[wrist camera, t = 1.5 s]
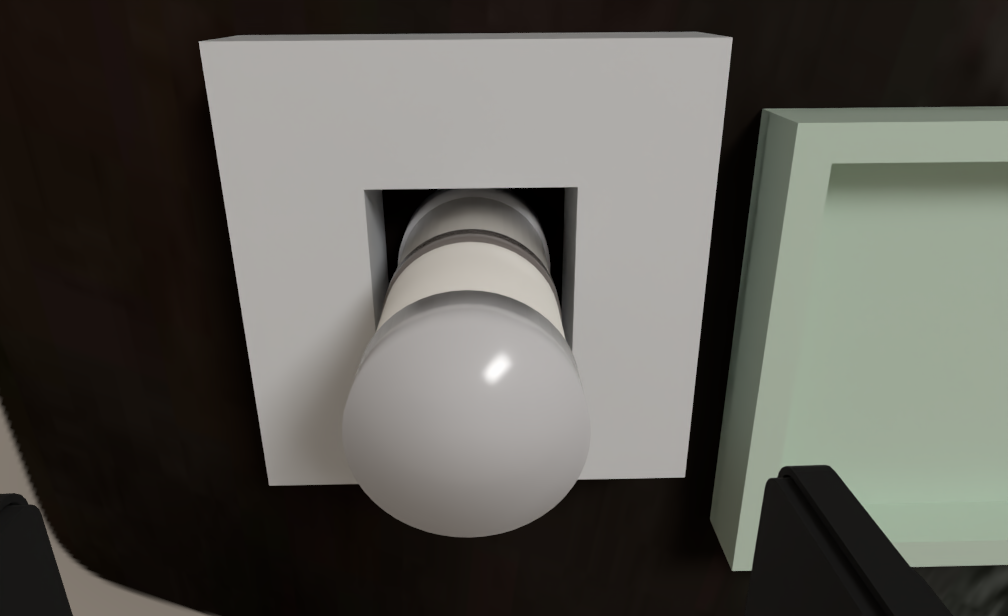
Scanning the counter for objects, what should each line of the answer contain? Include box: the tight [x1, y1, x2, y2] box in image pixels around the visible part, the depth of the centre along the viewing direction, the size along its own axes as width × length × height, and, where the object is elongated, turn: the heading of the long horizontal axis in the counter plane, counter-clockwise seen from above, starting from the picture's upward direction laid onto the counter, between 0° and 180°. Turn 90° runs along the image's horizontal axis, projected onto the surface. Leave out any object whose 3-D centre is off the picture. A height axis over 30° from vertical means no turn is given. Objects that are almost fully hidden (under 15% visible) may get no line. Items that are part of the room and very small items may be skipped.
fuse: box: [342, 188, 591, 537], centre depth 17 cm, size 4×4×10 cm
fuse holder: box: [199, 32, 733, 486], centre depth 20 cm, size 12×12×3 cm
